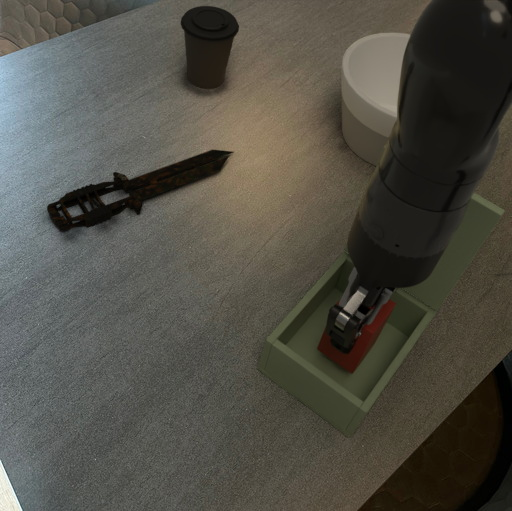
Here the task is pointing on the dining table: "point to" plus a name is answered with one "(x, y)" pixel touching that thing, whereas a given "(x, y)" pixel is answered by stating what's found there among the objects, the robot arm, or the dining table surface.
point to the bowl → (371, 92)
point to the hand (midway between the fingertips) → (353, 329)
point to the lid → (457, 251)
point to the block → (362, 343)
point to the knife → (128, 185)
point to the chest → (325, 369)
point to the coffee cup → (208, 44)
